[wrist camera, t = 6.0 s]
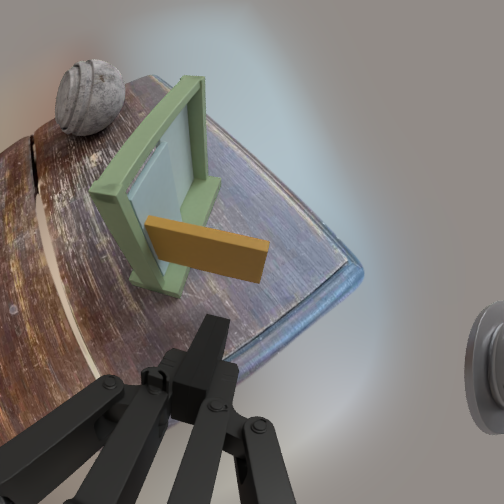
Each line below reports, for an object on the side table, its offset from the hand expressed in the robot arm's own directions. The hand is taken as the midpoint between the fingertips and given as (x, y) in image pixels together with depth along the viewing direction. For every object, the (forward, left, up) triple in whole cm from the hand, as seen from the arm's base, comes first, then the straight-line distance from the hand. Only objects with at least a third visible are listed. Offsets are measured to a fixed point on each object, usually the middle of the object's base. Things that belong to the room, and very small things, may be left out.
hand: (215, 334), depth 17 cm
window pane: (+3, -10, -9) cm, 14 cm away
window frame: (+9, -14, -11) cm, 20 cm away
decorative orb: (+35, -33, -11) cm, 49 cm away
